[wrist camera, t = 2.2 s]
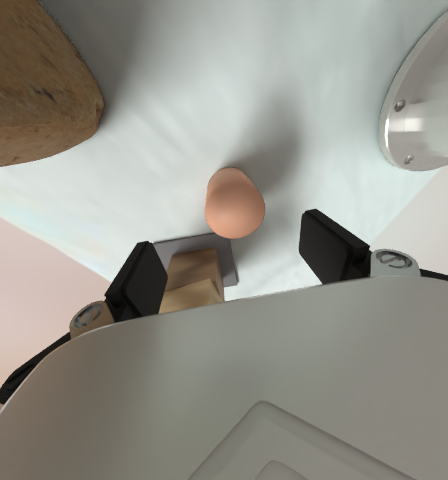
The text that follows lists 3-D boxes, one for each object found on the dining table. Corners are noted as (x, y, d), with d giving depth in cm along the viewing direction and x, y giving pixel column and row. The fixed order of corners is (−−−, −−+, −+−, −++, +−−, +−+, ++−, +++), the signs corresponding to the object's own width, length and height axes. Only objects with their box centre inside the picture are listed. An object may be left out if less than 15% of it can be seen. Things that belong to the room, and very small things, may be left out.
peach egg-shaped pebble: (249, 163, 17) (263, 176, 12) (253, 207, 20) (266, 233, 15) (202, 172, 18) (198, 189, 13) (212, 215, 20) (211, 242, 15)
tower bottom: (215, 247, 23) (215, 280, 18) (223, 278, 26) (225, 314, 21) (172, 254, 23) (160, 289, 18) (185, 284, 26) (178, 320, 21)
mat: (227, 230, 22) (227, 232, 21) (237, 283, 27) (237, 285, 27) (153, 243, 22) (152, 245, 22) (177, 292, 28) (176, 294, 27)
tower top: (209, 278, 17) (208, 339, 12) (228, 310, 21) (233, 369, 15) (158, 293, 18) (137, 356, 13) (183, 322, 21) (174, 381, 16)
